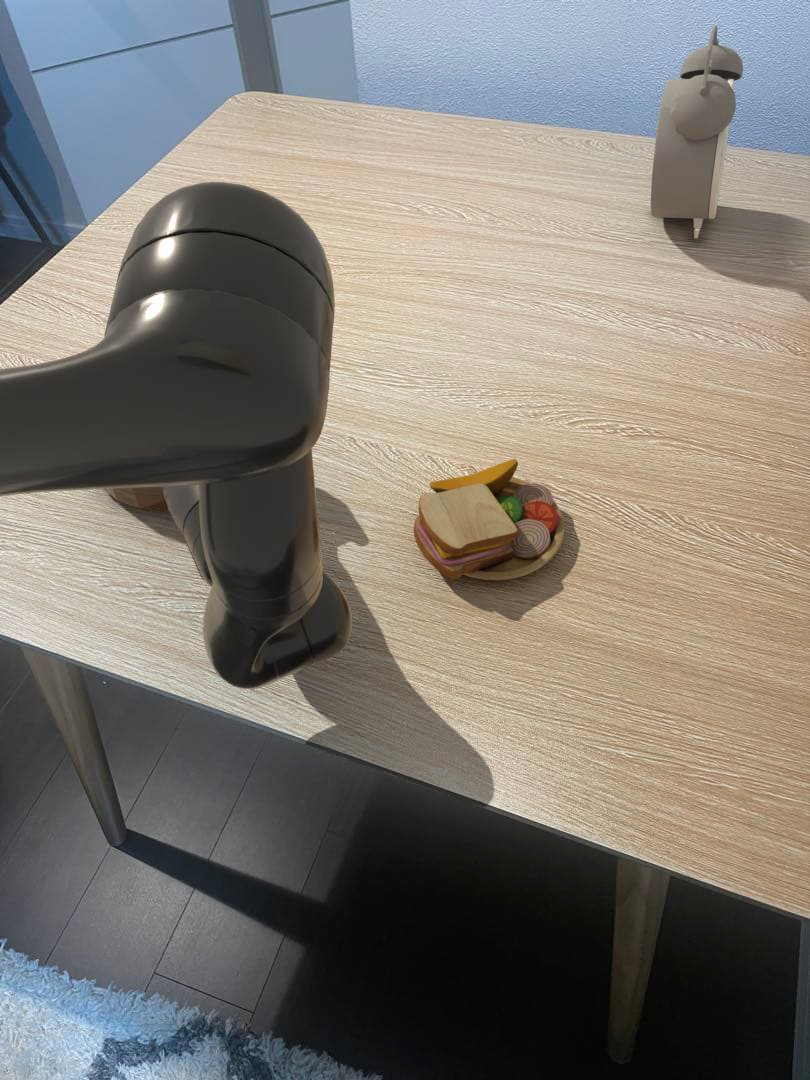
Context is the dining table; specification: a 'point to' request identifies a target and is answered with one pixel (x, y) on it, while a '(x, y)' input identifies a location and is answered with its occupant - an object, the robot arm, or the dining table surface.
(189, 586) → the dining table surface
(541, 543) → the toy sandwich meal
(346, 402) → the dining table surface
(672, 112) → the alarm clock
